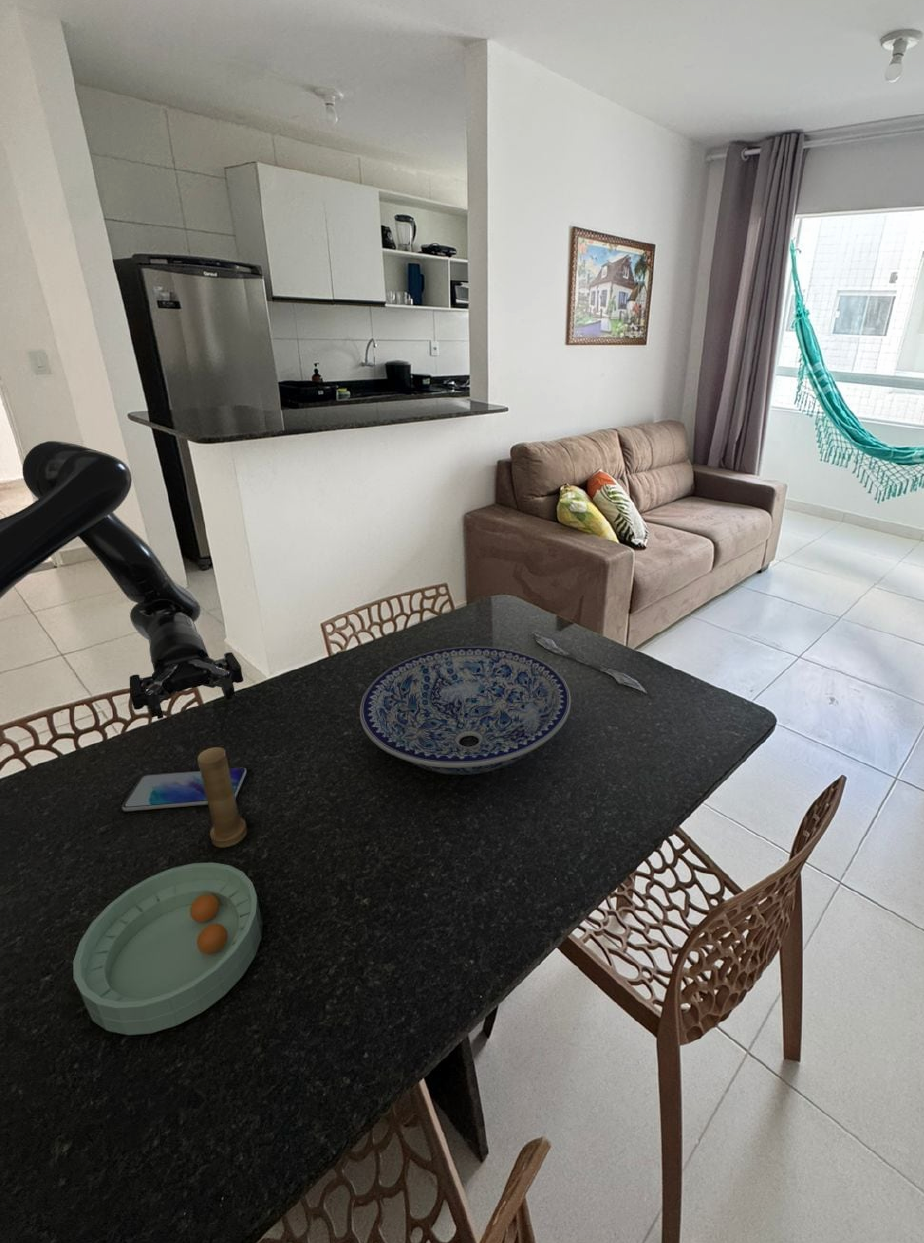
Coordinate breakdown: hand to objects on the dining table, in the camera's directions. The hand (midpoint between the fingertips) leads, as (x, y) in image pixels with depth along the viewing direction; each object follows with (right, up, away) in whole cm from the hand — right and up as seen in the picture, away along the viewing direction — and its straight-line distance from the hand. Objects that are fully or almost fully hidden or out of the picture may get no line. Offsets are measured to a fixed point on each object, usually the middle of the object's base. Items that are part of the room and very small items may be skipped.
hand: (194, 703), depth 89 cm
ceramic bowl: (+36, -11, +19) cm, 42 cm away
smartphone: (-4, -14, +5) cm, 16 cm away
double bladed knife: (+57, 0, +44) cm, 72 cm away
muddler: (+6, -18, -2) cm, 19 cm away
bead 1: (+10, -21, -14) cm, 28 cm away
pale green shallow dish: (+9, -25, -18) cm, 32 cm away
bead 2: (+13, -23, -18) cm, 32 cm away
